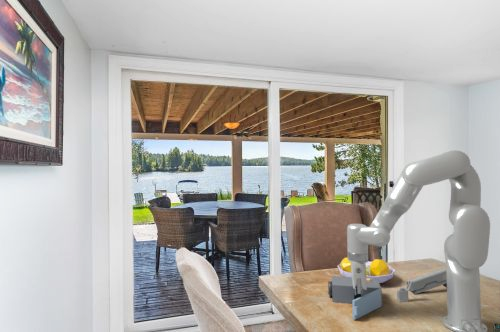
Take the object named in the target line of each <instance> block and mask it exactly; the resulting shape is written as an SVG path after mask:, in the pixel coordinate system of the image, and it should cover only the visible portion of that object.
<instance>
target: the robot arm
mask: <svg viewBox="0 0 500 332" xmlns="http://www.w3.org/2000/svg"><path fill="white" fill-rule="evenodd" d="M446 180H448V181H449V183H450V204H449V210H448V211H449V212H448V219H449V222H450V223H451V225H452V226H453V233H452V234H449V235H448V236H447V237H446V239H445V240H444V244H443V245H444V246H443V249H444V251H443V252H444V259H445V268H446V275H447V288H446V300H447V301H446V302H447V303H446V305H447V307H446V308H447V315H445V316H444V317H443V318H442V324H443V325H444V326H445V327H446V328H447V329H449V330H451V331H454V332H488V326H487V325H486V324H484V323H483V322H482V302H481V300H482V299H481V298H482V297H481V276H480V275H481V274H480V268H482V267H483V266H484V264H485V263H486V261H487V259H488V257H489V256H488V255H489V254H488V253H489V247H490V234H491V222H490V221H491V220H490V217H489V215H488V213H487V212H486V210H485V209H483V208H482V207H481V202H482V198H481V197H482V187H481V185H482V183H481V179H480V177H479V174H478V173H477V170H476V169H475V168H474V167H473V166H472V165H471V159H470V157H469V155H467V153H465V152H463V151H462V150H454V149H453V150H449V151H446V152H442V153H441V154H438V155H434V156H432V157H427V158H425V159H422V160H421V159H420V160H417V161H412V162H410V163H408V164H407V165H405V166H404V168H403V169H402V171H401V172H400V174H399V176H398V178H397V179H396V181H395V183H394V184H393V186H392V187H391V190H389V192H388V194H387V196H386V198H385V200H384V201H383V204H382V205H381V207H380V209H379V211H378V212H377V214H376V215H375V217H374V219H373V221H372V222H371V224H370V226H367V225H366V224H363V223H350V224H348V225H347V227H346V239H347V241H346V242H347V245H346V246H347V249H346V250H347V257H348V261H350V262H351V276H352V284H353V288H354V292H355V293H354V300H355V299H357V298H359V297H361V296H363V294H362V287H363V289H365V290H367V282H366V263H367V262H368V261H369V246H373V247H380V248H381V247H382V248H383V247H385V246H387V245H388V243H390V241H391V240H390V239H391V235H390V233H391V232H392V230H393V229H394V227H395V225H396V224H397V222H398V221H399V219H400V218H401V217H402V216H403V215H404V214H405V213H407V212H408V211H409V210H410V208H411V207H412V205H413V203H414V202H415V200H416V198H417V197H418V195H419V194H420V192H421V190H423V188H424V186H428V185H432V184H435V183H436V184H437V183H439V182H440V183H441V182H443V181H446Z"/></svg>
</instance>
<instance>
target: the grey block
mask: <svg viewBox="0 0 500 332" xmlns="http://www.w3.org/2000/svg"><path fill="white" fill-rule="evenodd" d="M327 282H328V283H327V286H328V287H327V288H328V293H327V295H328V296H332V303H340V304H352V300H354V293H355V292H354V288H353V284H352V277H345V276H343V275H340V276H339V275H331V281H330V280H328V281H327ZM366 282H367V290H365V289H363V287H362V294H363V296H364V295H366V294H368V293H371V292H373V291H375V290H377V289H382V286H381V283H379V282H378V279H375V278H366Z"/></svg>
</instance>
